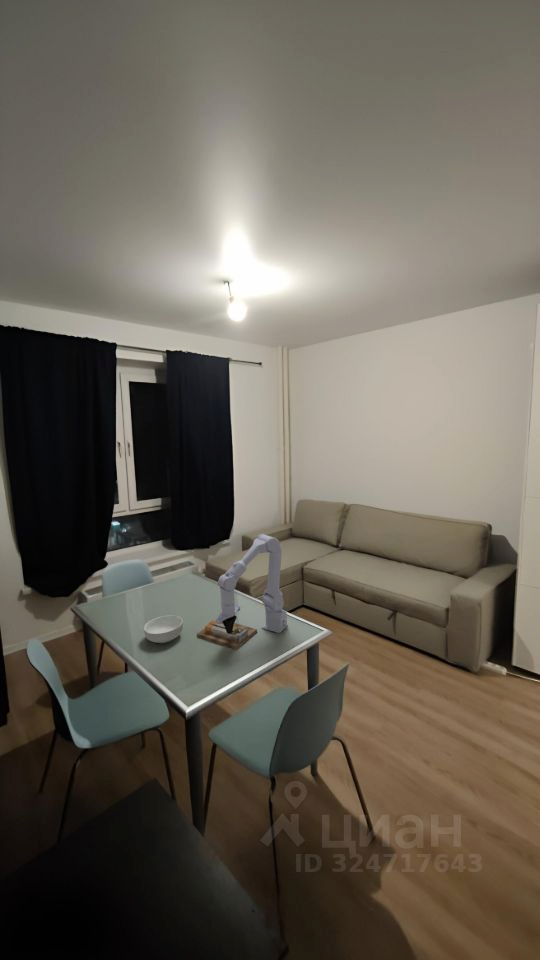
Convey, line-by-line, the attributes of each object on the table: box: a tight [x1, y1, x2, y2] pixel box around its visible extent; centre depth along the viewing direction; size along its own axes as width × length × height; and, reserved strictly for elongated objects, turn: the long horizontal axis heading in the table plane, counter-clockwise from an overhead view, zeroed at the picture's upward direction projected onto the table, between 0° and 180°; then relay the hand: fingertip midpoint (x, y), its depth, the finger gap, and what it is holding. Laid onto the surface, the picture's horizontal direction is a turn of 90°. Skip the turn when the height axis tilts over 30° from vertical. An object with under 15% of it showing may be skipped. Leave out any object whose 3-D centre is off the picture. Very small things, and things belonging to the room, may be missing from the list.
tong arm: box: [208, 620, 242, 634], centre depth 172 cm, size 18×3×3 cm, turn 58°
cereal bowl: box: [143, 614, 184, 644], centre depth 171 cm, size 17×17×7 cm
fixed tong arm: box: [204, 623, 248, 643], centre depth 170 cm, size 19×7×3 cm, turn 58°
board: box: [196, 622, 258, 651], centre depth 173 cm, size 22×16×2 cm
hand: (229, 632), depth 165 cm, fingers closed
